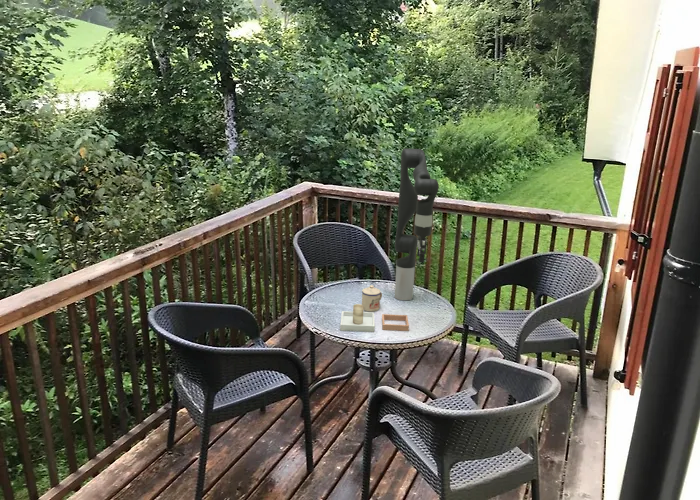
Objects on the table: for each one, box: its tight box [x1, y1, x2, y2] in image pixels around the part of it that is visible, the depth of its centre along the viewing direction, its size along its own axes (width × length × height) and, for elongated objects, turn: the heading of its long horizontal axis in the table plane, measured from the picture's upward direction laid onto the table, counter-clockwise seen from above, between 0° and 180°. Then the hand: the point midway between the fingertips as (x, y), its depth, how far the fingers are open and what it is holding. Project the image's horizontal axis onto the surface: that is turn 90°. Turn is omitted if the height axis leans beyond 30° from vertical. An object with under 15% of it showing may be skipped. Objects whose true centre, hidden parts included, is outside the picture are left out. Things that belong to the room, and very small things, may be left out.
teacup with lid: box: [361, 284, 383, 313], centre depth 271 cm, size 12×9×12 cm
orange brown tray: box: [381, 313, 410, 332], centre depth 255 cm, size 12×12×2 cm
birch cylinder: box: [352, 303, 364, 325], centre depth 253 cm, size 5×5×8 cm
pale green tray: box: [339, 310, 376, 333], centre depth 254 cm, size 15×15×3 cm
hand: (420, 258), depth 252 cm, fingers open, 8 cm apart
